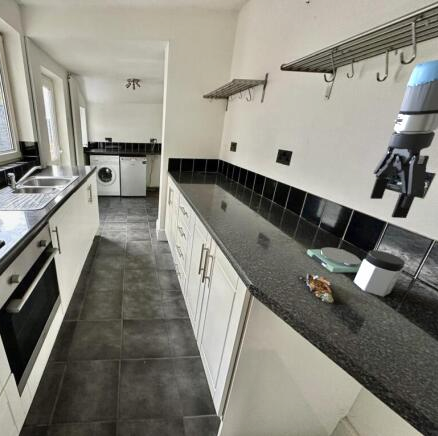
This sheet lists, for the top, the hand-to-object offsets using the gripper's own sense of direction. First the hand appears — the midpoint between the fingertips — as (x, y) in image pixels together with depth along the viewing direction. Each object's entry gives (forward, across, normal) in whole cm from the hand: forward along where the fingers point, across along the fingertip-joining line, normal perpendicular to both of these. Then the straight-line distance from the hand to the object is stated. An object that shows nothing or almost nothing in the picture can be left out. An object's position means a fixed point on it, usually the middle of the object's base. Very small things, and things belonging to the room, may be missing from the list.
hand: (386, 207), depth 68 cm
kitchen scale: (+28, -8, -5) cm, 29 cm away
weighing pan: (+25, -8, -4) cm, 27 cm away
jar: (+27, +5, +1) cm, 27 cm away
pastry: (+24, +14, -15) cm, 32 cm away
